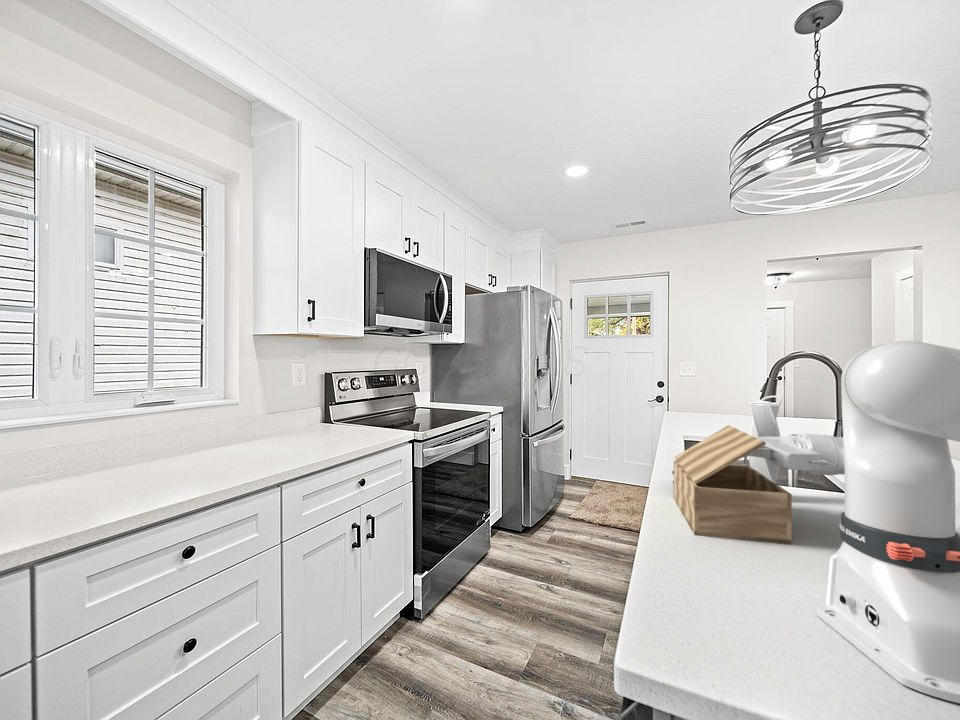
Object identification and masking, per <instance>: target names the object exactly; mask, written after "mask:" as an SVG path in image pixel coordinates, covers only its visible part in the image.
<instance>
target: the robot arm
mask: <svg viewBox="0 0 960 720" xmlns="http://www.w3.org/2000/svg"><path fill="white" fill-rule="evenodd" d="M840 380H841V381H840V386H841V389H840V391H841V394H840V395H841V415H842V416H841V418H842V419H841V420H842V437H841V436H838V437H837V436H833V435H829V434H828V435H827V434H813V433H812V434H810V433H801V434H795V433H793V434H792V433H790V434H788V436H781V435H780V436H777V437H756V438H758V439H760V440H762V441H764V442H765V443H766V444H765V445H764V446H762V447H760V448H758V449H756V450H755V451H753V452H751V453H749V454H748V455H746V456H747V457H749V456H755V457H760V458H766V459H767V460H769V461H771V462H773V463H775V464H776V465H778V466H780V467H779V468H782V469H786V470H791V471H792V470H793V471H801V472H802V473H803V474H806V475H816V476H817V475H818V476H821V475H822V476H837V475H843V476H844V511H843V512H841V514H840V520H839V529H840V530H839V531H840V534H839V535H840V539H841V541H842V543H841V545H840V547H839V548H838V550H836V552H835V553H834V554H833V555H831V556H830V558H829V559H830V560H829V564H828V565H829V566H828V577H827V585H826V587H827V589H826V597H825V599H826V600H825V602H823V603H819V604H817V605H816V607H815V614H816V616H818V617H819V618H820V619H821V620H822V621H823V622H824V623H826V624H827V625H828V626H830V627H831V628H832V629H833V630H835V631H836V632H837V633H838V634H839V635H841V636H842V637H843V638H844V639H846V640H847V641H848V642H849V643H851V644H852V645H853V646H854V647H855V648H856V649H858V650H859V651H860V652H861V653H863V655H864V656H866V657H868V658H869V659H870V660H871V661H873V662H874V663H875V664H876V665H877V666H879V667H880V668H881V669H882V670H884V671H885V672H887V673H888V674H889V675H890V676H891V677H892V678H894V679H895V680H896V681H898V683H900V684H901V685H904V686H905V687H908V688H910V689H913V690H915V691H917V692H919V693H920V692H921V693H923V694H926V695H927V696H928V695H929V696H932V697H934V698H939V699H942V700H945V701H948V702H951V703H956V704H960V535H959V533H957V531H956V470H955V468H954V465H953V461H952V456H951V452H950V445H949V441H953V442H959V443H960V349H958V348H953V347H949V346H943V345H937V344H934V343H929V342H928V343H927V342H924V341H918V340H917V341H916V340H901V341H894V342H892V341H891V342H888V343H883V344H879V345H874V346H871V347H868V348H865V349H863V350H861V351H859V352H857V353H856V354H855V355H853V356H852V357H851V358H850V359H849V360H848V361H847V362H846V364H845V366H844V367H843V370H842V372H841V377H840ZM948 440H949V441H948Z"/></svg>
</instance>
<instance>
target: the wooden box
mask: <svg viewBox="0 0 960 720" xmlns="http://www.w3.org/2000/svg"><path fill="white" fill-rule="evenodd" d="M747 465H748V464H747ZM747 465H743V464H730V465H728V466H727V467H725V468H723V469H721V470H720V471H718V472H716V473H714V474H713V475H711V476H709V477H707V478H706V479H704V480H702V481H700V482H699V483H697V484H695V482H694V481H693V480H692V479H691V478H690V476H689V475H688V474H687V473H686V472H685V470H684V469H683V468H682V467H681V466H680V464H679V463H678V462H677V461H676V460H674V461H673V471H674V476H673V480H674V483H673V501H674V502H675V503H676V505H677V507H678V509H679V510H680V512H681V514H682V515H683V517H684V519H685V521H686V523H687V524H688V526H689V528H690V530H691V531H692V533H693V535H694V536H704V537H713V538H715V537H716V538H724V539H725V538H726V539H735V540H744V541H752V540H754V541H755V542H763V541H765V542H764V543H773V542H775V543H774V544H783V543H784V545H785V544H786V545H792V543H793V542H792V538H793V537H792V535H793V534H792V533H793V532H792V528H793V527H792V524H793V522H792V519H793V518H792V517H793V516H792V515H793V513H792V512H793V511H792V510H793V509H792V507H793V505H792V504H793V503H792V502H793V501H792V497H793V496H792V495H793V493H791V492H789V491H788V490H786V489H784V488H783V487H781V486H780V485H779V484H777V483H774V482H772V481H771V480H769V479H768V478H766V477H765V476H763V475H762V474H760V473H759V472H757V471H756V470H754V469H753V468H751V467H750V465H749V466H747Z"/></svg>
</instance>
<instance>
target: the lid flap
mask: <svg viewBox="0 0 960 720" xmlns="http://www.w3.org/2000/svg"><path fill="white" fill-rule="evenodd" d="M765 444H766V443H765V442H764V441H762V440H760V439H758V438H756V437H753V436H751V435H750V433H746V432H745V431H742V430H740V429H738V428H736V427H734V426H731V425H727V426H725V427H723V428H721V429H719V430H718V431H716V432H714V433H713V434H711V435H710V436H708V437H706V438H704V439H703V440H701V441H699V442H698V443H696V444H694V445H692V446H690V447H689V448H688V449H685V450H684V451H683V452H680V453H679V454H677V455H676V456H674V457H673V458H674V461H677V462H678V463H679V464H680V466H681V467H682V468H683V469H684V470H685V472H686V473H687V474H688V475H689V476H690V478H691V479H692V480H693V481H694V482H695V484H697V483H699V482H700V481H702V480H704V479H706V478H707V477H709V476H711V475H713V474H714V473H716V472H718V471H720V470H721V469H723V468H725V467H727V466H728V465H733V463H735V462H737V461H739V460H741V459H743V458H744V456H746V455H748V454H749V453H751V452H753V451H755V450H756V449H758V448H760V447H762V446H764V445H765Z"/></svg>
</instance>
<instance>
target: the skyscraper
mask: <svg viewBox="0 0 960 720" xmlns="http://www.w3.org/2000/svg"><path fill="white" fill-rule="evenodd" d="M770 398H771V399H772V398H778V399H779V401H778V404H772V403H771V402H772V401H770V400H769V401H768V400H767V399H770ZM760 399H761V400H759V401H753V402H750V403H749V406H750V411H751V414H752V415H751V416H752V421H751V425H750V429H749V435H751V436H753V437H777V436H781V433H780V428H779V425H778V421H777V419H778V413H779V410H780V405H781V404H782V401H783V399H784V398H783V397H782V396H781V395H769V396H764V397H763V398H760ZM766 400H767V401H766ZM748 459H749V460H748ZM748 461H749V464H748ZM742 465H747V466H750V467H751V468H753V469H754V470H756V471H757V472H759V473H760V474H762V475H763V476H765V477H766V478H768V479H769V480H771V481H772V482H774V483H775V484H777V479H778V475H779V471H780V468H781V467H780V466H778V465H776V464H775V463H773V462H771V461H769V460H767V459H766V458H760V457H755V456H744V457H743V464H742Z"/></svg>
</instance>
